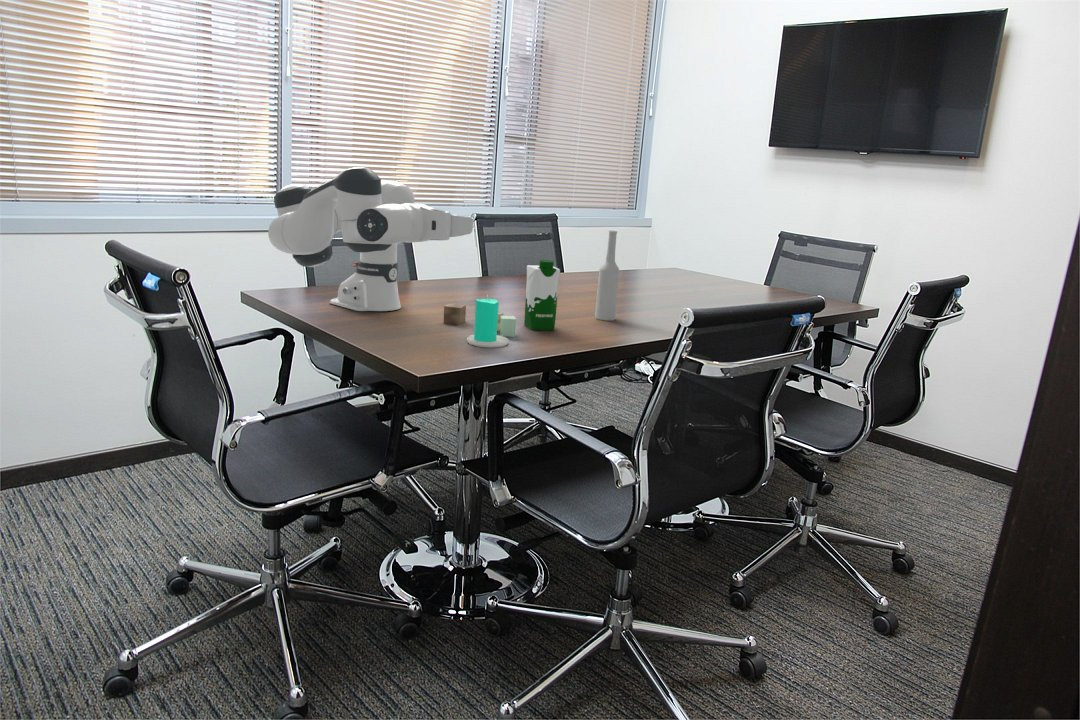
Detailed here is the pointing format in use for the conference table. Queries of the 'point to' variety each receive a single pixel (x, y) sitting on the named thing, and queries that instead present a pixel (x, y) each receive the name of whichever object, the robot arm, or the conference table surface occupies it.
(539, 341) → the conference table surface
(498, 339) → the coaster
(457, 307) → the walnut block
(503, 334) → the sage block
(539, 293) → the milk carton
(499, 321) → the maple block
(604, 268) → the bottle
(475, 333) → the candle
